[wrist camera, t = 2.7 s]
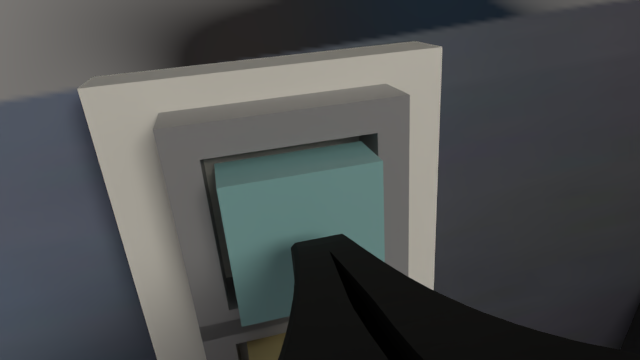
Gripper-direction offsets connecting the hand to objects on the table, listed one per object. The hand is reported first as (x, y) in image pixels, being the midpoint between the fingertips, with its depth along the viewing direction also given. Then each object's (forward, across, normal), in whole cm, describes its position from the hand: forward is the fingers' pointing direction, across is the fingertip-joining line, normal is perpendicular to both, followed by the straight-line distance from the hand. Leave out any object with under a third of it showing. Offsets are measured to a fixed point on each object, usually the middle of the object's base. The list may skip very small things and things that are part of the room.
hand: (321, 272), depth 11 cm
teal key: (+3, 0, 0) cm, 3 cm away
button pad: (+6, 0, +7) cm, 9 cm away
